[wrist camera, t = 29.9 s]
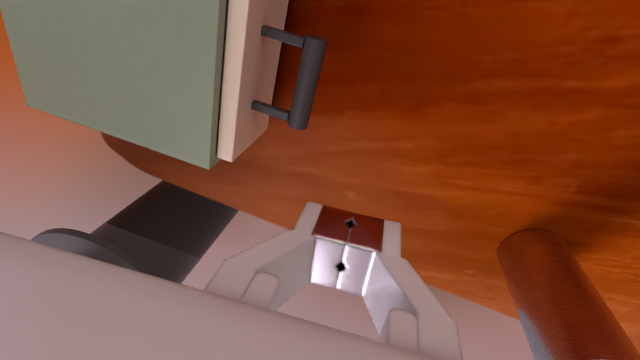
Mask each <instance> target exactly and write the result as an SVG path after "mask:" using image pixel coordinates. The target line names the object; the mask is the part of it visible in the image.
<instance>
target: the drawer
mask: <svg viewBox="0 0 640 360" xmlns="http://www.w3.org/2000/svg"><path fill="white" fill-rule="evenodd" d="M288 2H289V0H227V1H226V15H225V29H224V42H223V56H222V70H221V84H220V98H219V111H218V125H217V131H218V130H219V134H218V147H217V158H220V159H223V160H226V161H229V162H233V161H234V160H235V159H236V158H237V157H238V156H239V155H240V154H241V153H242V152H243V151H244V150H246V149H247V148H248V147H249V146H250V145H251V144H252V143H253V142H254V141H255V140H256V139H257V138H258V137H260V136H261V135H262V134H263V133H264V132H265V131H266V130H267V127H268V121H269V115H270V116H273V117H276V118H279V119H282V120H285V121H288V125H289V126H290V127H291V128H293V129H296V130H305V129H306V128H307V125H308V121H309V116H310V112H311V108H312V104H313V100H314V96H315V92H316V88H317V83H318V79H319V75H320V71H321V67H322V63H323V59H324V55H325V50H326V46H327V42H328V41H327V40H326V39H324V38H321V37H318V36H314V35H306V36H305V37H303V36H300V35H297V34H294V33H290V32H287V31H284V26H285V20H286V14H287V8H288ZM282 42H284V43H287V44H290V45H293V46H297V47H300V48H303V51H302V56H301V61H300V66H299V70H298V75H297V80H296V85H295V90H294V95H293V100H292V105H291V110H290V111H288V110H285V109H282V108H279V107H276V106H273V105H271V103H272V97H273V91H274V85H275V79H276V73H277V67H278V61H279V55H280V49H281V43H282Z"/></svg>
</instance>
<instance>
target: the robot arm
mask: <svg viewBox="0 0 640 360" xmlns="http://www.w3.org/2000/svg"><path fill="white" fill-rule="evenodd" d="M309 282H311V283H316V284H319V285H324V286H328V287H332V288H336V289H340V290H343V291H346V292H349V293H353V294H356V295H360V296H363V299H364V301H365V304H366V306H367V308H368V311H369V313H370V315H371V317H372V320H373V322H374V324H375V327H376V329H377V331H378V333H379V339H378V341H377V340H374V339H370V338H367V337H363V336H359V335H356V334H353V333H349V332H345V331H342V330H339V329H335V328H332V327H328V326H325V325H321V324H318V323H314V322H311V321H308V320H304V319H301V318H297V317H294V316H290V315H287V314H283V313H279V312H278V308H279V307H280V306H282V305H283V304H284V303H285V302H287V301H288V300H289V299H290V298H292V296H294V295H295V294H296V293H298V292H299V291H300V290H301V289H302V288H304V287H305V286H306V285H307V284H309ZM336 286H337V287H336ZM0 360H463V357H462V351H461V345H460V339H459V334H458V328H457V323H456V322H455V321H454V320H453V318H452V317H451V315H450V314H449V313H448V312H447V310H446V309H445V308H444V307H443V305H442V304H441V303H440V302H439V300H438V299H437V298H436V297H435V295H434V294H433V293H432V292H431V290H430V289H429V288H428V286H427V285H426V284H425V283H424V281H423V280H422V279H421V278H420V276H419V275H418V274H417V272H416V271H415V270H414V269H413V267H412V266H411V265H410V264H409V262H408V261H407V260H406V259H404V258H401V224H400V222H395V221H390V220H385V219H384V220H383V219H379V218H374V217H370V216H365V215H361V214H356V213H353V212H349V211H346V210H342V209H338V208H334V207H330V206H326V205H322V204H318V203H314V202H307V203H306V205H305V207H304V209H303V211H302V213H301V215H300V217H299V219H298V221H297V223H296V226H295V228H294V230H293V231H292V230H287V231H285V232H283V233H280V234H278V235H276V236H274V237H272V238H270V239H268V240H266V241H263V242H261V243H259V244H257V245H255V246H253V247H251V248H249V249H247V250H245V251H242V252H240V253H238V254H236V255H234V256H232V257H230V258H227V259H225V260H224V262H223V263H222V264H221V266H220V267H219V269H218V270H217V271H216V273H215V274H214V276H213V277H212V278H211V280H210V281H209V283H208V284H207V285H206V287H205V288H204V290H200V289H197V288H193V287H190V286H186V285H183V284H179V283H176V282H172V281H169V280H165V279H162V278H159V277H155V276H152V275H148V274H145V273H141V272H138V271H134V270H131V269H127V268H124V267H120V266H117V265H113V264H110V263H107V262H103V261H100V260H96V259H93V258H89V257H86V256H82V255H79V254H75V253H72V252H69V251H65V250H62V249H58V248H55V247H51V246H48V245H44V244H41V243H37V242H34V241H31V240H27V239H24V238H20V237H17V236H13V235H9V234H6V233H3V232H0Z"/></svg>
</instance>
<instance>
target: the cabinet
mask: <svg viewBox="0 0 640 360" xmlns="http://www.w3.org/2000/svg"><path fill="white" fill-rule="evenodd" d="M226 1H227V0H0V9H1V13H2V16H3V20H4V24H5V27H6V31H7V34H8V38H9V42H10V45H11V49H12V52H13V56H14V60H15V63H16V67H17V71H18V74H19V78H20V81H21V85H22V89H23V92H24V96H25V99H26V103H27V106H29V107H33V108H35V109H38V110H41V111H44V112H47V113H49V114H52V115H55V116H58V117H61V118H63V119H67V120H69V121H72V122H75V123H78V124H80V125H84V126H86V127H89V128H92V129H95V130H98V131H100V132H103V133H106V134H109V135H112V136H114V137H117V138H120V139H123V140H126V141H129V142H131V143H134V144H137V145H140V146H143V147H146V148H148V149H151V150H154V151H157V152H160V153H163V154H165V155H168V156H171V157H174V158H177V159H180V160H182V161H185V162H188V163H191V164H194V165H197V166H199V167H202V168H205V169H208V170H209V169H211V168H212V167H213V166H214V165H215V164H217V163H218V162H219V161H220V160H221V159H220V158H217V147H218V134H219V130H218V131H217V125H218V111H219V98H220V84H221V70H222V56H223V42H224V29H225V15H226Z"/></svg>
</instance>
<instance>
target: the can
mask: <svg viewBox="0 0 640 360" xmlns="http://www.w3.org/2000/svg"><path fill="white" fill-rule="evenodd" d="M497 255H498V260H499V263H500V266H501V268H502V271H503V274H504V277H505V279H506V282H507V285H508V288H509V291H510V293H511V296H512V299H513V302H514V304H515V307H516V310H517V313H518V315H519V318H520V321H521V324H522V327H523V329H524V332H525V335H526V338H527V340H528V343H529V346H530V349H531V351H532V354H533V357H534V360H640V354H639V352H638V351H637V349H636V348H635V346H634V345H633V343H632V342H631V340H630V339H629V337H628V336H627V334H626V333H625V331H624V330H623V328H622V327H621V325H620V324H619V322H618V321H617V319H616V318H615V316H614V315H613V313H612V312H611V310H610V309H609V307H608V306H607V304H606V303H605V301H604V300H603V298H602V297H601V295H600V294H599V292H598V291H597V289H596V288H595V286H594V285H593V283H592V282H591V280H590V279H589V277H588V276H587V274H586V273H585V271H584V270H583V268H582V267H581V265H580V264H579V262H578V261H577V259H576V258H575V256H574V255H573V253H572V252H571V250H570V249H569V247H568V246H567V244H566V243H565V241H564V240H563V239H562V238H561V237H560V236H558V235H557V234H555V233H553V232H550V231H546V230H540V229H531V230H524V231H520V232H517V233H515V234H513V235H511V236H509V237H508V238H506V239H505V240H504V241H503V242H502V243H501V245H500V247H499V249H498V254H497Z"/></svg>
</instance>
